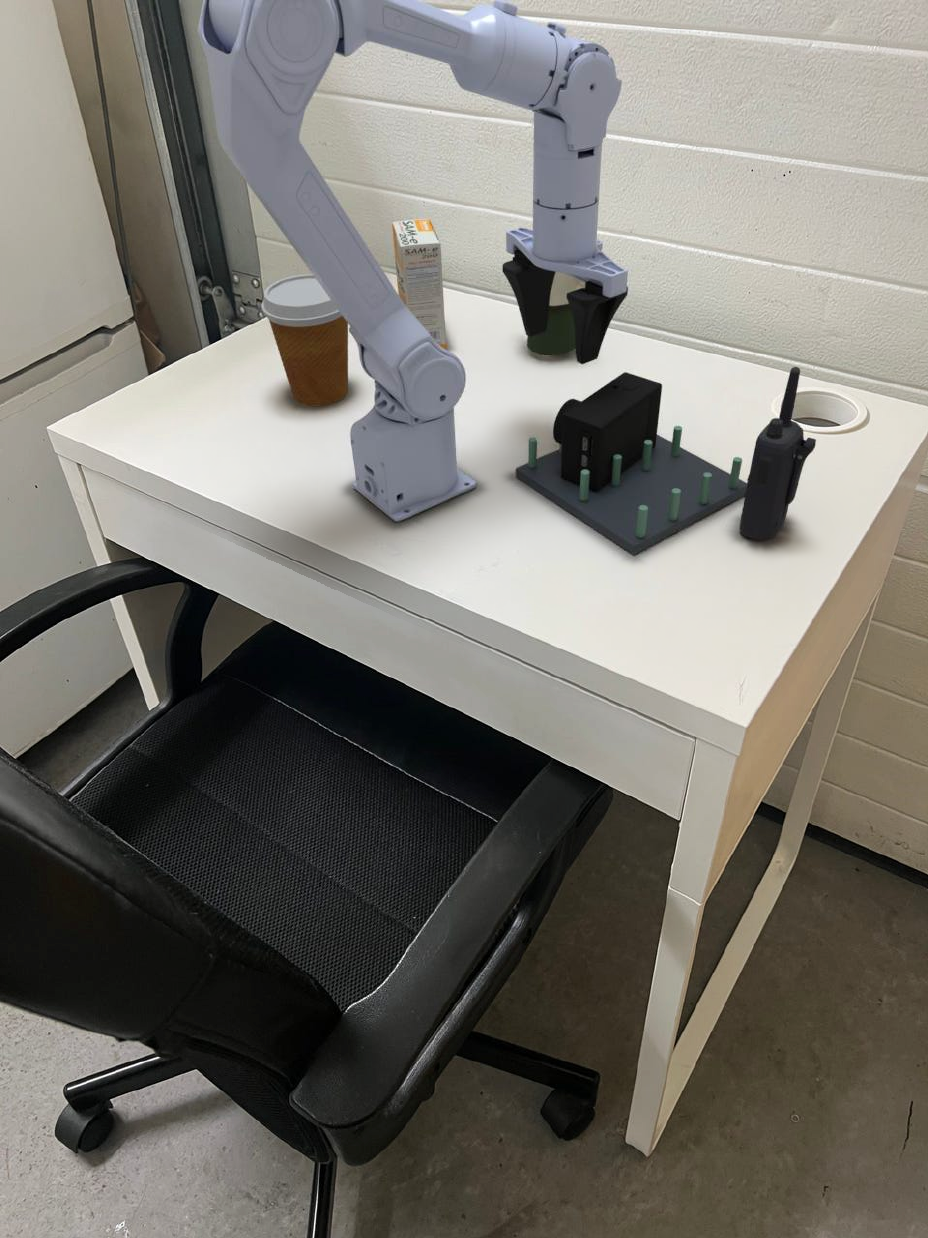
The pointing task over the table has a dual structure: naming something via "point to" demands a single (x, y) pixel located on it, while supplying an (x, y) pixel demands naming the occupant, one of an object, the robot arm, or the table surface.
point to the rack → (639, 492)
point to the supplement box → (420, 274)
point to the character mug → (557, 319)
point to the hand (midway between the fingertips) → (561, 346)
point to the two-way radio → (775, 469)
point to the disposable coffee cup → (309, 339)
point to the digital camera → (607, 428)
